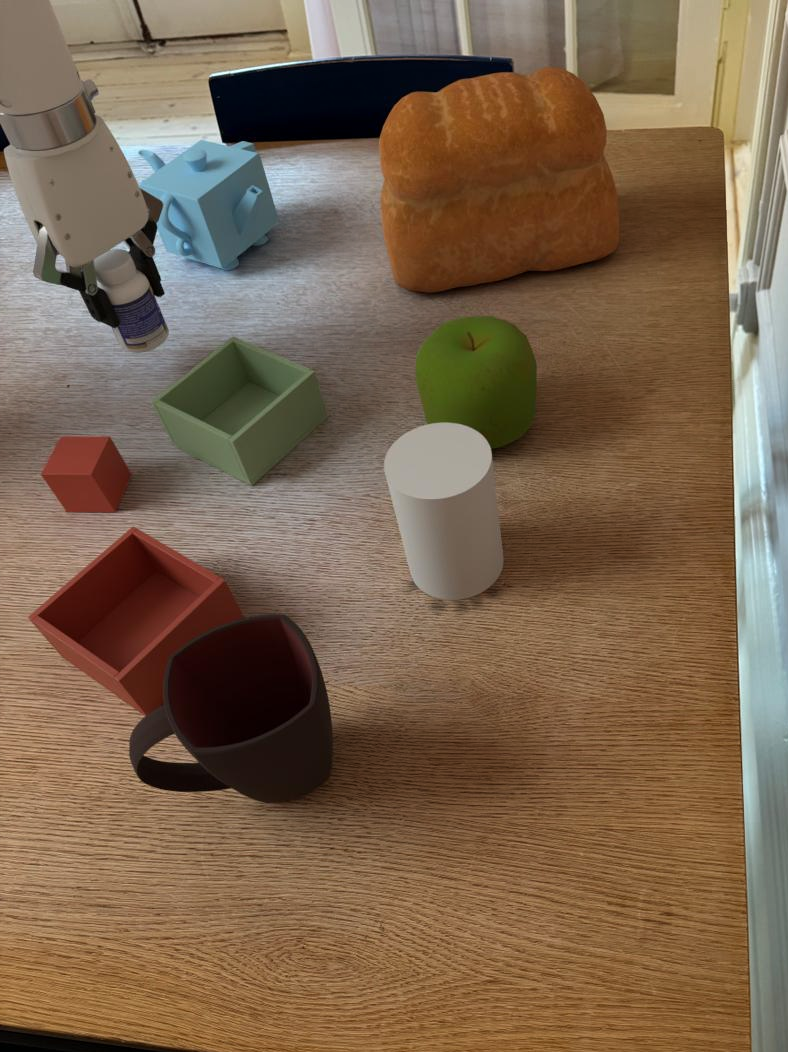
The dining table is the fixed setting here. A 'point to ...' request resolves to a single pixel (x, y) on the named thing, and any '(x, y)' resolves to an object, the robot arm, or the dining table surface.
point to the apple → (479, 377)
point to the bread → (496, 180)
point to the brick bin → (134, 615)
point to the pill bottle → (131, 302)
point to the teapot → (212, 201)
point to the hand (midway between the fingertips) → (130, 305)
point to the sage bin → (242, 409)
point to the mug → (242, 714)
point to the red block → (87, 474)
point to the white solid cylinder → (446, 509)
